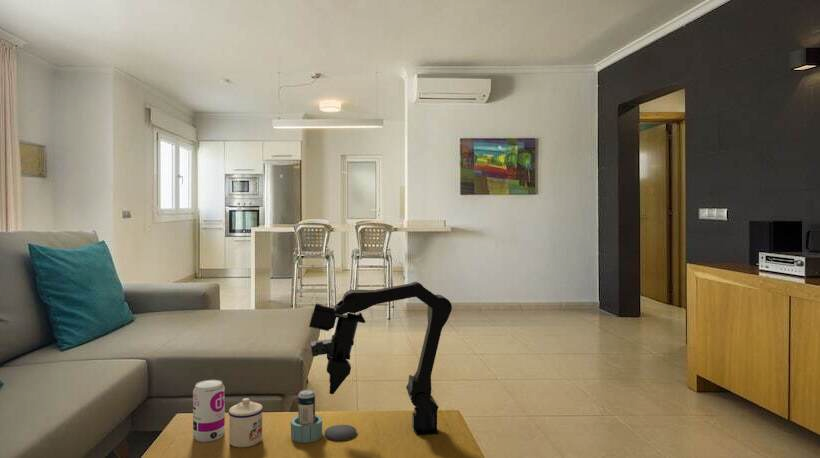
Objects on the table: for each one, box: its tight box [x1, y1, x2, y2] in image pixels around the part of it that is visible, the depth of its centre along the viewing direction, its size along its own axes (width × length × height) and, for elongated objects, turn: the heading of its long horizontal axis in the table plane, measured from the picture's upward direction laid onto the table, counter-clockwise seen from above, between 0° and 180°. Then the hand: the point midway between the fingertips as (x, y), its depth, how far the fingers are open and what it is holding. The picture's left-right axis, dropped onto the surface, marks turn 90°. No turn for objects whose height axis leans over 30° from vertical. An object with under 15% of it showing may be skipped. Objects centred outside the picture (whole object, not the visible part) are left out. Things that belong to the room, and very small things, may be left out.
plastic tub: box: [290, 414, 323, 444], centre depth 143 cm, size 9×9×5 cm
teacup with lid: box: [228, 397, 264, 448], centre depth 142 cm, size 12×9×12 cm
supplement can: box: [192, 379, 226, 443], centre depth 143 cm, size 8×8×15 cm
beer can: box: [297, 389, 316, 425], centre depth 143 cm, size 5×5×12 cm
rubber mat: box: [324, 424, 357, 442], centre depth 145 cm, size 9×9×1 cm
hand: (331, 388), depth 144 cm, fingers open, 9 cm apart
